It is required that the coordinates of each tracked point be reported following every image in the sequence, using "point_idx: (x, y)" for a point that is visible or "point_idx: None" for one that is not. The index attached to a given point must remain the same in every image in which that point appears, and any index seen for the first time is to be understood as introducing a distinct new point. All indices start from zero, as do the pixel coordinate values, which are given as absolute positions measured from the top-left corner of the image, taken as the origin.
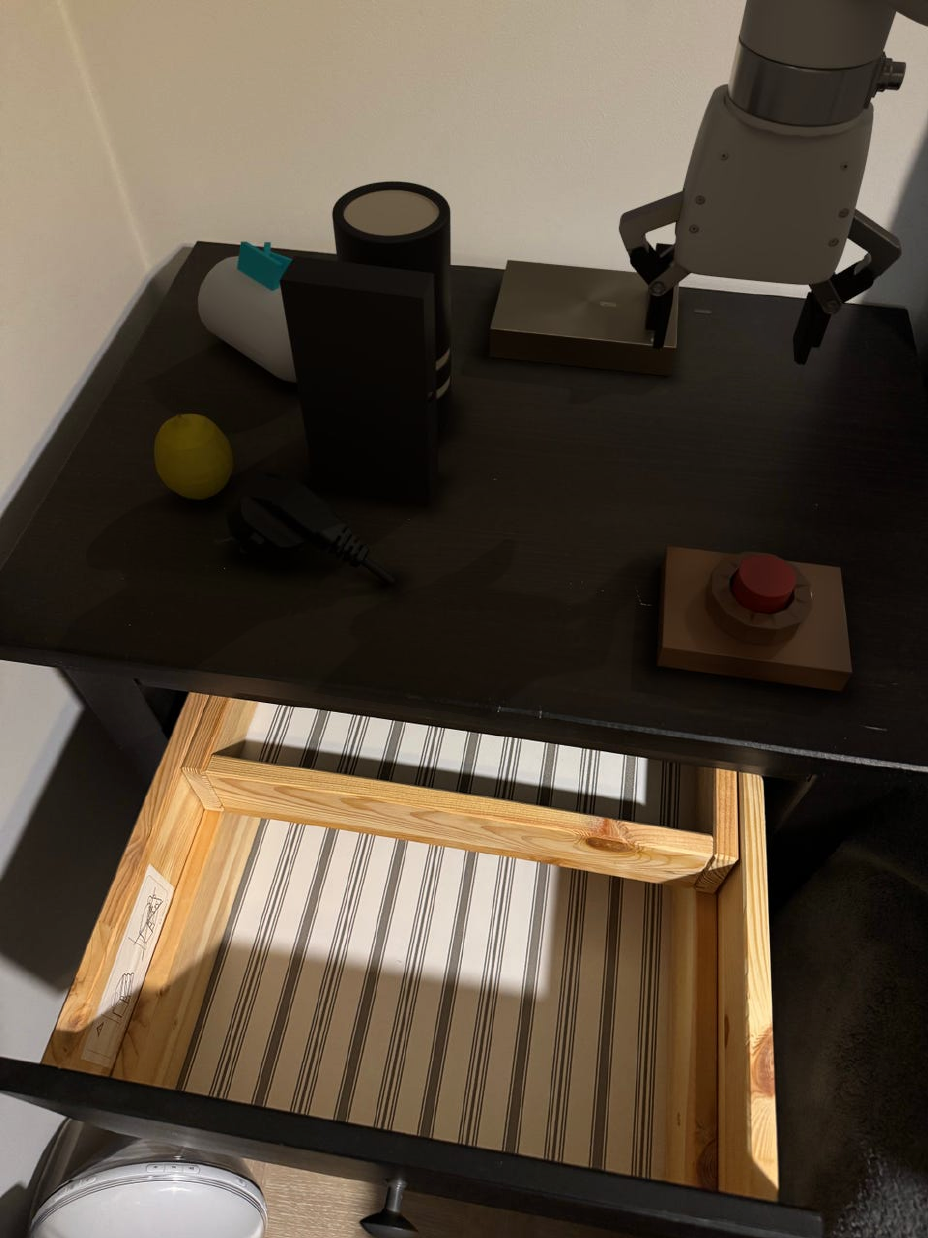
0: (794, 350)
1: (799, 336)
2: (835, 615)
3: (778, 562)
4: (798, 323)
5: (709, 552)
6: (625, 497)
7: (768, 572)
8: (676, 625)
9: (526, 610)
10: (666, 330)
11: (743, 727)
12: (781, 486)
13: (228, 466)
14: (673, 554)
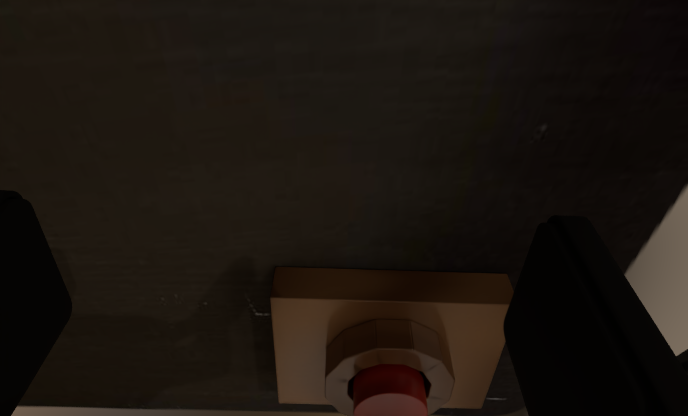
0: (518, 292)
1: (535, 347)
2: (485, 361)
3: (409, 401)
4: (564, 279)
5: (332, 301)
6: (199, 151)
7: (392, 412)
8: (292, 385)
9: (123, 332)
10: (36, 371)
11: None
12: (490, 89)
13: None
14: (280, 310)
